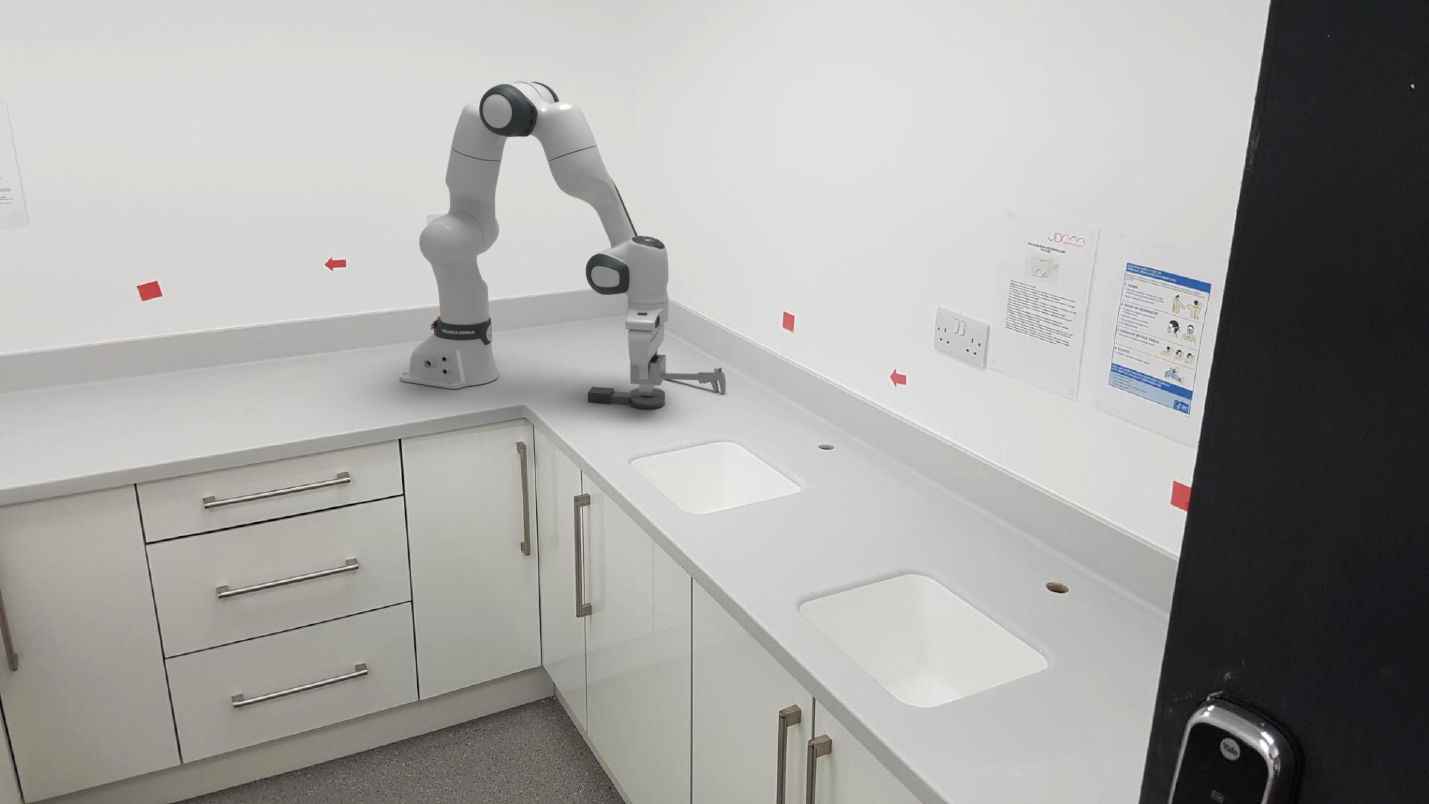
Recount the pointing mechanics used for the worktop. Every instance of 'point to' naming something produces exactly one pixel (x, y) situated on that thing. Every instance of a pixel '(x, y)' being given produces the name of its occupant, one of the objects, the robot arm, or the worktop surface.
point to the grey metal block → (650, 371)
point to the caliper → (703, 378)
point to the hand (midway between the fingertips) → (647, 373)
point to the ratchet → (629, 397)
